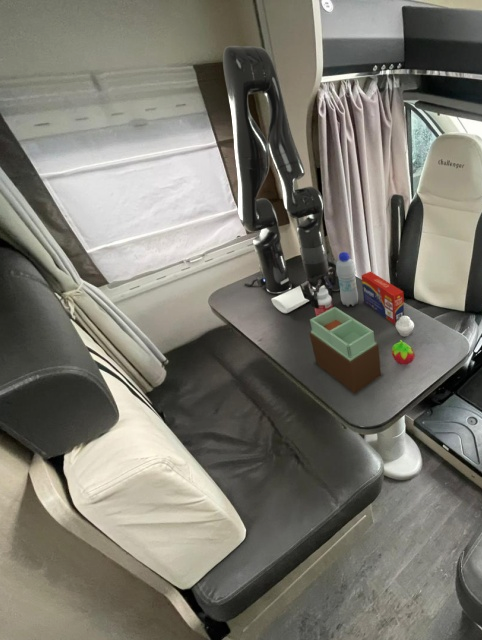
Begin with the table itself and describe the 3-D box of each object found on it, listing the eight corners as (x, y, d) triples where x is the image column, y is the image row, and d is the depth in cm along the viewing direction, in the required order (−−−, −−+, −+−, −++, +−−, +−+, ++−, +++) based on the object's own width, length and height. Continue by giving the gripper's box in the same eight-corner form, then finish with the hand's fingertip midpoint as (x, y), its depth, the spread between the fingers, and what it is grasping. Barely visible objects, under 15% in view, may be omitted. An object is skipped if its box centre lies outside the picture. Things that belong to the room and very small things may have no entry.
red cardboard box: (404, 320, 127) (403, 291, 119) (395, 324, 125) (394, 296, 117) (372, 298, 137) (370, 271, 129) (364, 302, 135) (361, 275, 127)
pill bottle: (329, 325, 125) (324, 297, 117) (313, 321, 126) (307, 294, 118) (337, 315, 129) (333, 288, 121) (322, 312, 130) (317, 285, 123)
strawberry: (403, 376, 106) (402, 350, 100) (388, 362, 111) (386, 337, 104) (418, 367, 109) (418, 342, 102) (403, 354, 113) (402, 329, 107)
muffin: (392, 332, 122) (391, 315, 117) (406, 325, 124) (406, 308, 120) (403, 341, 118) (402, 324, 113) (417, 334, 121) (418, 317, 116)
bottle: (356, 309, 132) (350, 258, 118) (338, 307, 133) (330, 256, 119) (361, 299, 136) (356, 249, 123) (344, 297, 137) (337, 247, 124)
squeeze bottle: (273, 306, 133) (269, 295, 129) (316, 285, 144) (314, 273, 140) (288, 317, 128) (285, 305, 125) (332, 293, 139) (330, 282, 136)
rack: (316, 363, 110) (305, 319, 99) (342, 347, 116) (335, 304, 105) (354, 394, 101) (347, 349, 90) (380, 375, 107) (377, 331, 95)
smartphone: (325, 270, 150) (350, 282, 143) (325, 272, 151) (350, 284, 144) (310, 278, 146) (335, 290, 139) (310, 279, 147) (335, 292, 139)
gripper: (321, 245, 118) (329, 289, 129) (288, 263, 109) (299, 309, 120) (338, 251, 115) (345, 296, 126) (306, 270, 106) (316, 316, 117)
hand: (323, 302), depth 123 cm, fingers closed on pill bottle, 6 cm apart
